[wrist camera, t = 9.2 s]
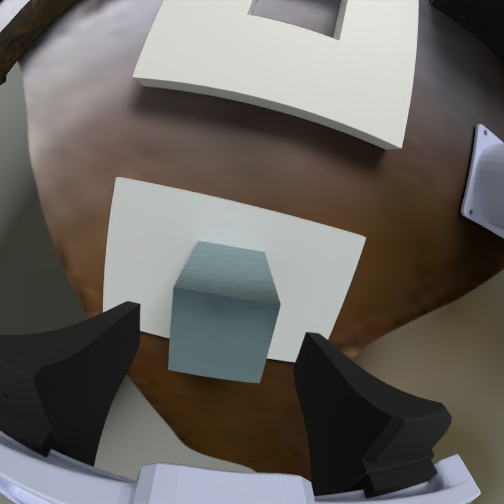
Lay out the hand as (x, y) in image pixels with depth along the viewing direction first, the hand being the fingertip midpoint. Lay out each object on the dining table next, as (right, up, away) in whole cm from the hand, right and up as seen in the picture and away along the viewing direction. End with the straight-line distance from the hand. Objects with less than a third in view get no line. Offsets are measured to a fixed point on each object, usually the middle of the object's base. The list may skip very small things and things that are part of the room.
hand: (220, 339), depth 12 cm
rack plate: (+4, +20, +2) cm, 20 cm away
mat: (0, +2, +7) cm, 7 cm away
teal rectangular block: (0, +2, +6) cm, 6 cm away
